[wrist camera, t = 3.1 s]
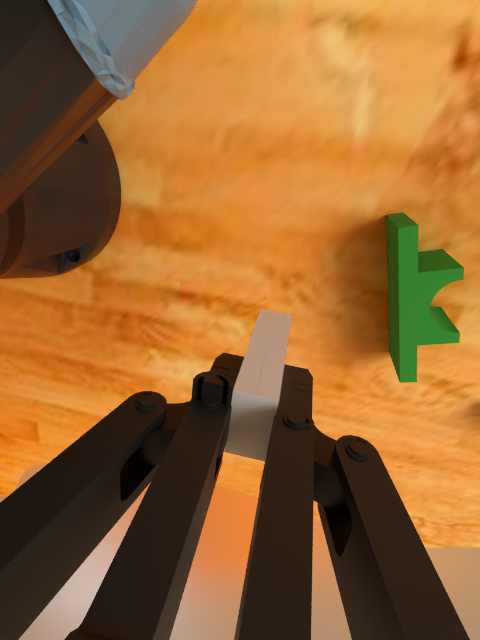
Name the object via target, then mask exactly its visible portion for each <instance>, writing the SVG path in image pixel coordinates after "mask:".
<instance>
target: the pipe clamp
mask: <svg viewBox="0 0 480 640" xmlns="http://www.w3.org/2000/svg"><path fill="white" fill-rule="evenodd" d="M386 217H387V262H388V307H389V352H390V355H391V358H392V361H393V364H394V367H395V370H396V373H397V376H398V378H399V381H400V383H401V382H417V345H430V344H446V343H459V337H460V332H459V331H458V330H457V328H456V327H455V326H454V324H453V323H452V322H451V320H450V319H449V318H448V316H447V315H446V313H445V312H444V311H443V309H442V308H441V307H433V306H430V304H431V301H432V299H433V297H434V296H435V294H436V293H437V292H438V291H439V290H440V289H441V288H442V287H444V286H445V285H447V284H449V283H451V282H454V281H457V280H462V279H463V272H464V268H463V267H462V266H461V265H460V264H459V263H458V262H456V261H455V260H454V259H453V258H452V257H451V256H450V255H448V254H447V253H446V252H445V251H444V250H434V251H426V252H418V225H417V224H416V223H415V222H414V221H413V220H411V219H410V218H409V217H408V216H407V215H405V214H404V213H398V214H391V215H386Z"/></svg>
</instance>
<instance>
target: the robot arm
mask: <svg viewBox="0 0 480 640" xmlns="http://www.w3.org/2000/svg"><path fill="white" fill-rule="evenodd" d="M196 2H197V0H0V279H7V278H38V277H51V276H56V275H60V274H64V273H66V272H69V271H71V270H73V269H75V268H77V267H79V266H81V265H83V264H85V263H87V262H88V261H90V260H91V259H93V258H94V257H95V256H97V255H98V254H99V253H100V252H101V251H102V250H103V249H104V247H105V246H106V245H107V243H108V242H109V240H110V238H111V237H112V235H113V232H114V230H115V228H116V225H117V222H118V217H119V212H120V205H121V185H120V177H119V171H118V167H117V163H116V159H115V156H114V153H113V151H112V148H111V145H110V143H109V141H108V139H107V137H106V135H105V133H104V131H103V129H102V127H101V126H100V124H99V122H98V121H97V119H98V118H99V117H100V116H101V115H102V114H103V113H104V112H105V111H106V110H107V109H108V108H109V107H110V106H111V105H112V104H113V103H114V102H115V101H116V100H117V99H119V100H124V99H125V98H127V97H128V96H129V95H130V94H131V92H132V91H133V89H134V85H135V79H136V78H137V77H138V76H139V74H140V73H141V72H142V71H143V70H144V69H145V67H146V66H147V65H148V64H149V63H150V61H151V60H152V59H153V58H154V57H155V55H156V54H157V53H158V52H159V51H160V49H161V48H162V47H163V46H164V45H165V43H166V42H167V41H168V40H169V39H170V38H171V36H172V35H173V34H174V33H175V32H176V31H177V30H178V29H179V27H180V26H181V25H182V24H183V23H184V22H185V21H186V19H187V18H188V17H189V15H190V14H191V12H192V10H193V9H194V7H195V5H196ZM291 319H292V315H289V314H284V313H278V312H273V311H268V310H263V309H261V310H260V313H259V316H258V319H257V322H256V325H255V328H254V331H253V334H252V337H251V340H250V342H249V345H248V348H247V351H246V354H245V357H242V356H237V355H232V354H228V353H223V354H221V355H220V356H218V357H217V358H216V359H215V361H214V363H213V366H212V368H211V370H210V371H208V372H202V373H200V374H198V375H196V376H195V378H194V379H193V389H192V399H191V401H189V402H185V403H177V404H167V401H166V399H165V397H164V396H162V395H161V394H159V393H156V392H152V391H143V392H139V393H136V394H134V395H132V396H130V397H129V398H128V399H127V400H125V401H124V402H123V403H122V404H120V405H119V406H118V407H117V408H116V409H114V410H113V411H112V412H111V413H109V414H108V415H107V416H106V417H105V418H103V419H102V420H101V421H100V422H98V423H97V424H96V425H95V426H94V427H92V428H91V429H90V430H89V431H87V432H86V433H85V434H84V435H83V436H81V437H80V438H79V439H78V440H76V441H75V442H74V443H73V444H72V445H70V446H69V447H68V448H67V449H65V450H64V451H63V452H62V453H61V454H59V455H58V456H57V457H56V458H54V459H53V460H52V461H51V462H50V463H48V464H47V465H46V466H45V467H43V468H42V469H41V470H40V471H39V472H37V473H36V474H35V475H34V476H32V477H31V478H30V479H29V480H28V481H26V482H25V483H24V484H23V485H21V486H20V487H19V488H18V489H17V490H15V491H14V492H13V493H12V494H10V495H9V496H8V497H7V498H6V499H4V500H3V501H2V502H1V503H0V640H18V639H19V638H20V637H21V636H22V635H23V633H24V632H25V631H26V630H27V629H28V627H29V626H30V625H31V624H32V622H33V621H34V620H35V619H36V618H37V617H38V615H39V614H40V613H41V612H42V611H43V610H44V608H45V607H46V606H47V605H48V603H49V602H50V601H51V600H52V599H53V598H54V596H55V595H56V594H57V593H58V592H59V590H60V589H61V588H62V587H63V586H64V584H65V583H66V582H67V581H68V580H69V579H70V577H71V576H72V575H73V574H74V572H75V571H76V570H77V569H78V568H79V567H80V565H81V564H82V563H83V562H84V561H85V559H86V558H87V557H88V556H89V555H90V554H91V552H92V551H93V550H94V549H95V548H96V546H97V545H98V544H99V543H100V542H101V540H102V539H103V538H104V537H105V536H106V534H107V533H108V532H109V531H110V530H111V529H112V527H113V526H114V525H115V524H116V523H117V521H118V520H119V519H120V518H121V516H122V515H123V514H124V513H125V512H126V511H127V509H128V508H129V507H130V506H131V505H132V504H133V502H134V501H135V500H136V499H137V498H138V496H139V495H140V494H141V493H142V492H143V490H144V489H145V488H146V487H147V486H148V484H149V483H150V482H151V483H150V485H149V487H148V489H147V491H146V493H145V495H144V497H143V500H142V502H141V504H140V506H139V508H138V510H137V512H136V514H135V516H134V518H133V520H132V522H131V524H130V526H129V528H128V530H127V532H126V535H125V536H124V539H123V541H122V543H121V545H120V547H119V549H118V551H117V553H116V555H115V557H114V559H113V561H112V563H111V565H110V567H109V569H108V571H107V573H106V575H105V578H104V579H103V581H102V584H101V586H100V588H99V590H98V592H97V594H96V596H95V598H94V600H93V602H92V604H91V606H90V608H89V610H88V612H87V614H86V616H85V618H84V620H83V622H82V624H81V625H80V626H79V627H78V628H77V629H75V630H74V631H72V632H70V633H69V635H68V636H67V637H66V638H65V640H169V639H170V635H171V632H172V629H173V625H174V621H175V619H176V615H177V612H178V609H179V605H180V601H181V598H182V595H183V592H184V588H185V585H186V582H187V578H188V575H189V571H190V568H191V564H192V561H193V558H194V555H195V551H196V548H197V545H198V541H199V538H200V534H201V531H202V528H203V524H204V521H205V518H206V514H207V511H208V507H209V504H210V501H211V497H212V494H213V491H214V487H215V484H216V481H217V477H218V474H219V471H220V467H221V464H222V457H223V452H227V453H232V454H236V455H240V456H244V457H248V458H253V459H257V460H261V461H265V465H264V470H263V475H262V479H261V484H260V493H259V498H258V504H257V510H256V516H255V522H254V528H253V533H252V539H251V545H250V551H249V557H248V563H247V568H246V575H245V580H244V586H243V592H242V597H241V604H240V609H239V615H238V621H237V627H236V632H235V639H234V640H311V601H312V600H311V599H312V598H311V597H312V546H313V544H312V543H313V500H314V501H316V502H318V510H319V514H320V518H321V522H322V526H323V529H324V534H325V537H326V541H327V545H328V549H329V553H330V557H331V561H332V564H333V568H334V572H335V576H336V580H337V584H338V588H339V591H340V595H341V599H342V603H343V607H344V610H345V615H346V619H347V622H348V626H349V630H350V634H351V637H352V640H470V639H469V637H468V635H467V633H466V631H465V630H464V627H463V625H462V623H461V621H460V619H459V617H458V615H457V613H456V611H455V609H454V606H453V604H452V602H451V600H450V598H449V596H448V594H447V592H446V590H445V588H444V586H443V584H442V582H441V580H440V578H439V576H438V574H437V572H436V570H435V568H434V566H433V564H432V562H431V559H430V557H429V555H428V554H427V551H426V549H425V547H424V545H423V543H422V541H421V539H420V537H419V535H418V533H417V531H416V529H415V527H414V525H413V523H412V521H411V519H410V516H409V514H408V512H407V510H406V508H405V506H404V504H403V502H402V500H401V498H400V496H399V494H398V492H397V490H396V488H395V486H394V484H393V482H392V480H391V478H390V476H389V474H388V471H387V469H386V467H385V465H384V463H383V461H382V459H381V457H380V455H379V453H378V451H377V450H376V449H375V447H374V446H373V445H372V444H371V443H369V442H368V441H367V440H365V439H362V438H360V437H357V436H352V435H347V436H342V437H341V438H339V439H338V440H337V441H336V440H334V439H332V438H330V437H328V436H326V435H324V434H323V433H321V432H320V431H319V430H318V429H317V428H316V427H315V425H314V421H313V420H312V390H313V387H312V386H313V377H312V375H311V374H310V372H309V370H308V369H304V368H299V367H294V366H289V365H285V358H286V352H287V345H288V339H289V332H290V326H291ZM224 448H225V451H224Z"/></svg>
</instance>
